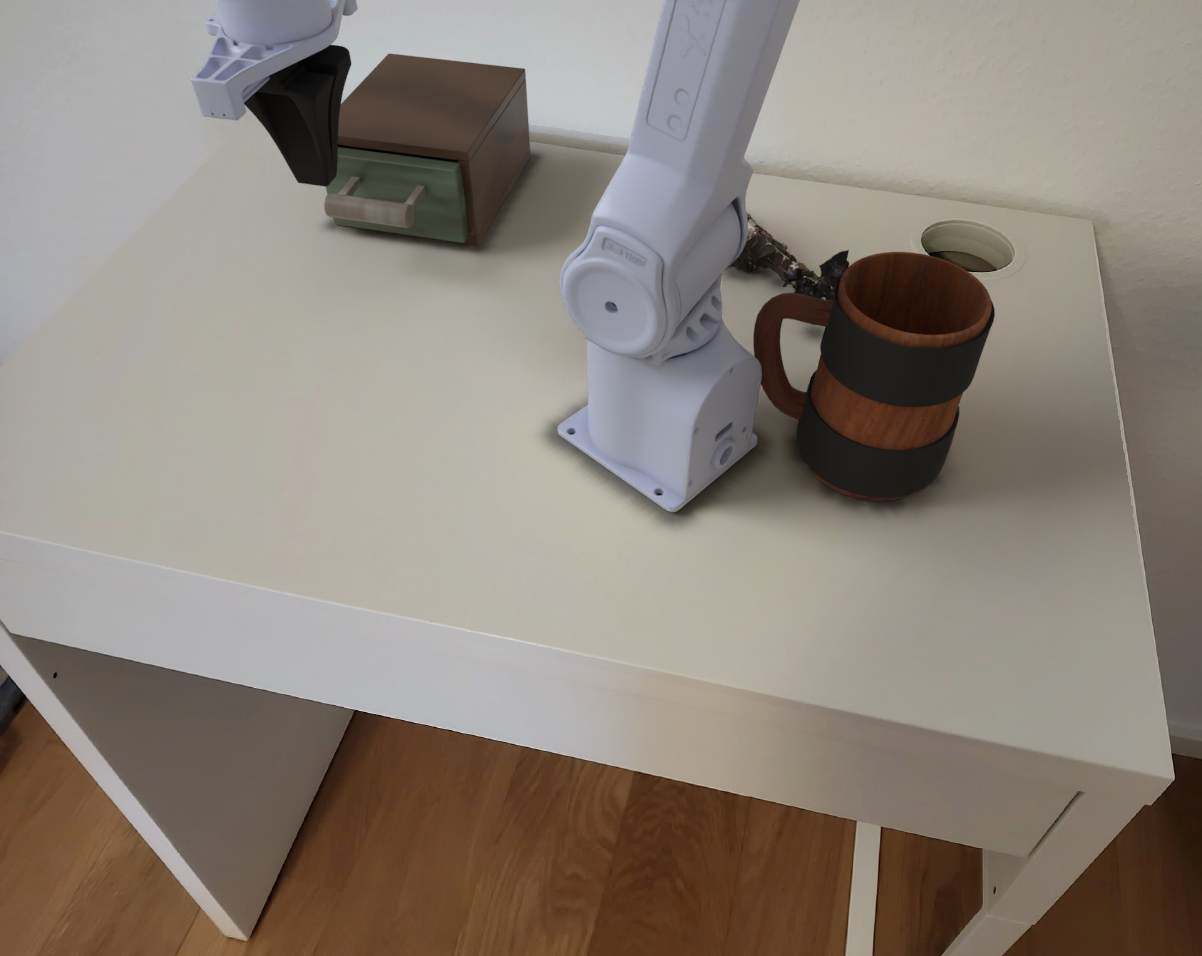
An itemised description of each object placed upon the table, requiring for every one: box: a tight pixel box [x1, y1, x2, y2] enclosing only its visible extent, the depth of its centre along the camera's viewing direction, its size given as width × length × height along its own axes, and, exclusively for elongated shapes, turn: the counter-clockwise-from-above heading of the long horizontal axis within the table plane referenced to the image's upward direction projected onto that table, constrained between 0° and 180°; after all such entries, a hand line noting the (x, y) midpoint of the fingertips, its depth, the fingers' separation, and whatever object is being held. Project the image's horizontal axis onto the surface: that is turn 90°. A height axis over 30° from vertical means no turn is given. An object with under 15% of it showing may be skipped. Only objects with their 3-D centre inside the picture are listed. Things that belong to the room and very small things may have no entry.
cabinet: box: [335, 53, 531, 246], centre depth 72 cm, size 14×12×8 cm
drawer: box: [323, 145, 469, 244], centre depth 70 cm, size 17×10×6 cm, turn 166°
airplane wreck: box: [730, 211, 850, 300], centre depth 65 cm, size 6×18×6 cm, turn 36°
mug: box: [752, 251, 996, 502], centre depth 51 cm, size 9×12×12 cm
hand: (317, 179), depth 56 cm, fingers closed
